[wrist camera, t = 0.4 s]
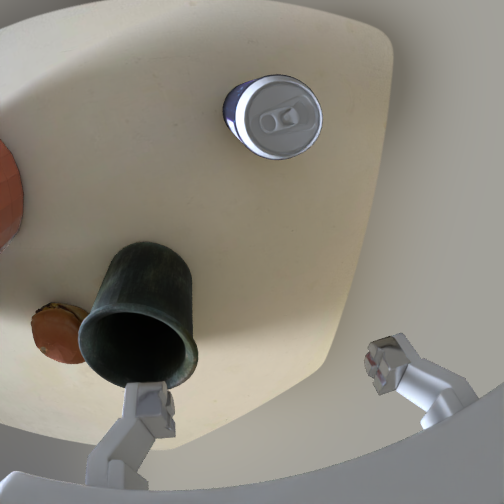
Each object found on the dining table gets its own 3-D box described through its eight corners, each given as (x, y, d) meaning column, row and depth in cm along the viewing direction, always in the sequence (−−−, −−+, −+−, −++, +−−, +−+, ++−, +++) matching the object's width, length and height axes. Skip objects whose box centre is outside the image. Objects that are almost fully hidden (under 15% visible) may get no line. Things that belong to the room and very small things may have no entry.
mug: (193, 233, 32) (193, 303, 22) (200, 333, 39) (205, 408, 29) (97, 237, 30) (60, 306, 20) (121, 335, 37) (108, 408, 27)
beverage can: (287, 128, 28) (337, 149, 18) (232, 145, 28) (253, 176, 18) (270, 75, 25) (315, 64, 15) (214, 92, 25) (223, 88, 15)
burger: (112, 329, 37) (105, 354, 33) (79, 356, 38) (72, 379, 34) (56, 282, 32) (43, 305, 28) (28, 317, 34) (16, 338, 30)
